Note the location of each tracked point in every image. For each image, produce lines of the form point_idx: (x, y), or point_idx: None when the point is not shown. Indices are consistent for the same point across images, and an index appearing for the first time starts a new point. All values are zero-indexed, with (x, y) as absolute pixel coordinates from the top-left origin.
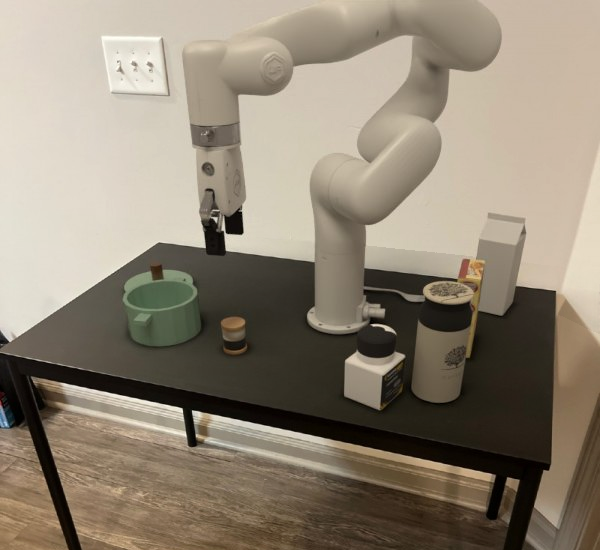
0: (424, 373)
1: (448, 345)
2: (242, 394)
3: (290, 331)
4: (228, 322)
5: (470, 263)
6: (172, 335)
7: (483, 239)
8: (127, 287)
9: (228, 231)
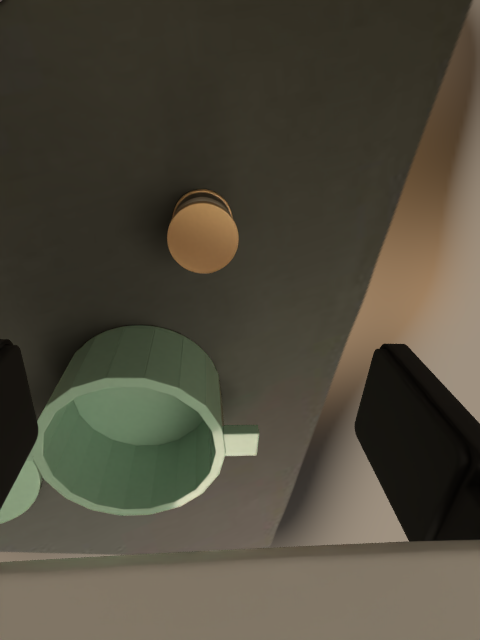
0: None
1: None
2: (401, 148)
3: (64, 73)
4: (205, 252)
5: None
6: (208, 368)
7: None
8: (7, 516)
9: (29, 431)
